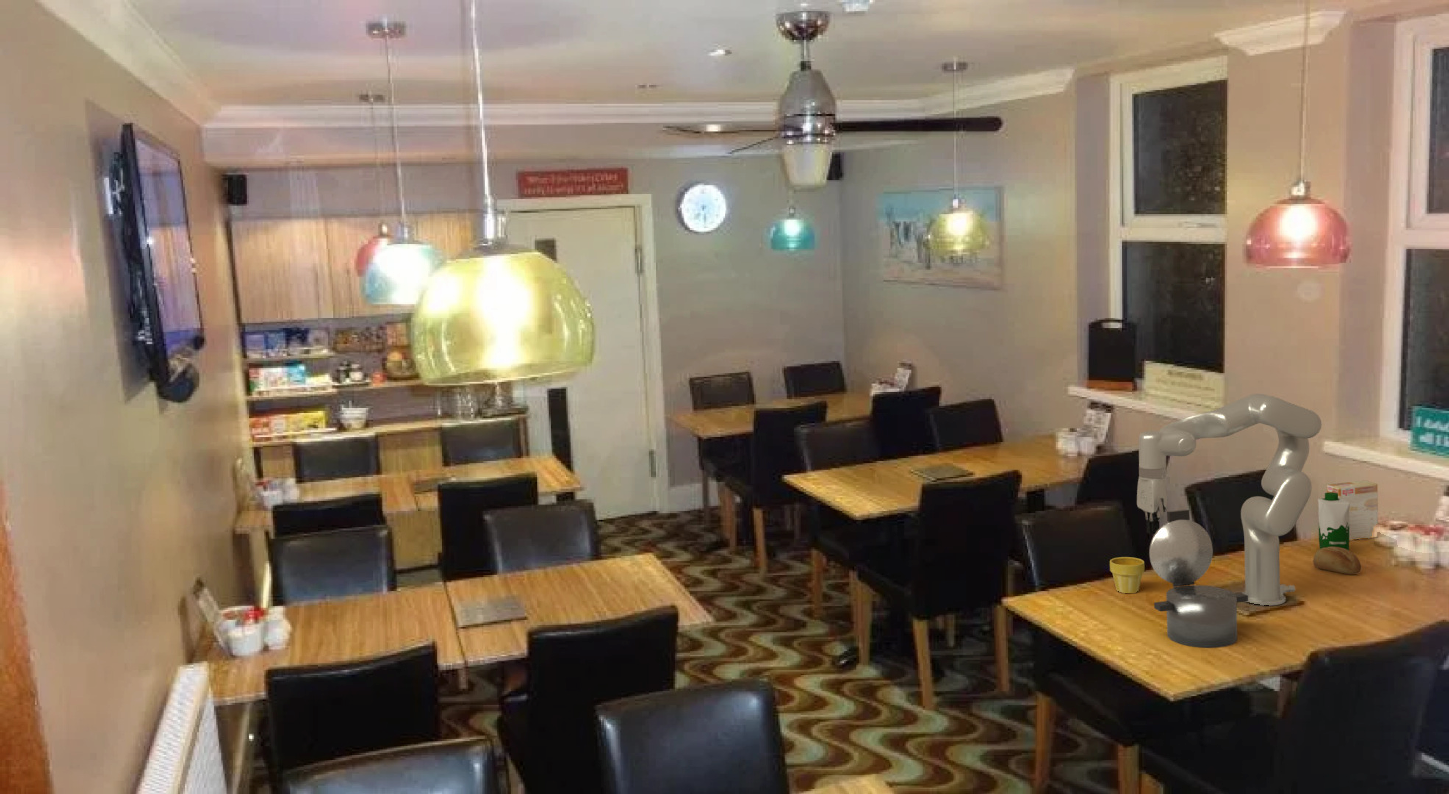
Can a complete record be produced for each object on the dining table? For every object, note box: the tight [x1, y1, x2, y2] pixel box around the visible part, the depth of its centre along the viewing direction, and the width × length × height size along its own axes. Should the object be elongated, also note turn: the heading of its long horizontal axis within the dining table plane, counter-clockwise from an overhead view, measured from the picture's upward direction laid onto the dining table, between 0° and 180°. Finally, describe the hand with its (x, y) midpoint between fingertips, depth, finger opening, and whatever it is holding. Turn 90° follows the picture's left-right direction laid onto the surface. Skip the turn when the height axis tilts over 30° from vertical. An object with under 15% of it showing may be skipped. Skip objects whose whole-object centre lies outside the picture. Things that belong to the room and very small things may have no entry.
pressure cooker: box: [1153, 584, 1248, 649], centre depth 316 cm, size 26×19×12 cm
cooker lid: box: [1148, 509, 1214, 588], centre depth 324 cm, size 19×22×3 cm
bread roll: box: [1312, 547, 1362, 575], centre depth 364 cm, size 10×15×8 cm, turn 31°
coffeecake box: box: [1326, 479, 1379, 541], centre depth 400 cm, size 15×7×20 cm, turn 97°
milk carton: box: [1317, 492, 1350, 551], centre depth 384 cm, size 9×9×20 cm
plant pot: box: [1109, 556, 1145, 594], centre depth 360 cm, size 10×10×10 cm
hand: (1153, 533), depth 338 cm, fingers closed
